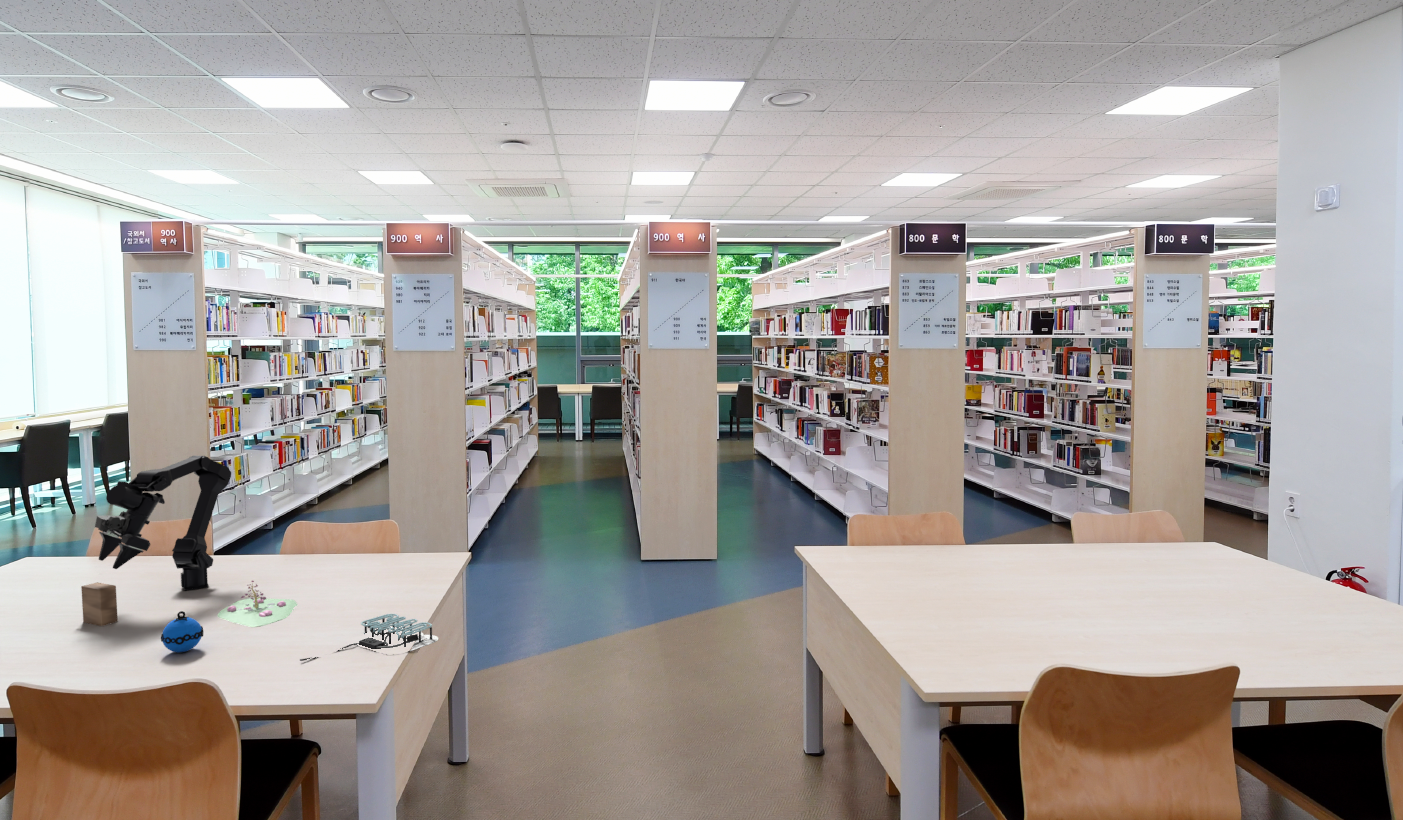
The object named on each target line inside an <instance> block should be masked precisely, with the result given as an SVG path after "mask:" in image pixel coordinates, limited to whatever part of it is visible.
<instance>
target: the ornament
mask: <svg viewBox="0 0 1403 820" xmlns="http://www.w3.org/2000/svg"><path fill="white" fill-rule="evenodd" d="M181 614H182V615H181ZM203 628H204V626H203V625H201V624H200V623H199V621H198V620H196V619H195V618H193V617H189V616H186V612H185V611H182V610H181V611H179V612H177V615H176V618H174V619H173V620H171V621H169V622H168V623H167V624H166V626H165V627H164V629H163V630H162V633H160V634H161V635H160V641H161V642H162V644H163V645H164V647H165V648H166V649H168V650H169V651H171V652H173V653H179V654H181V653H186V652H188V651H191V650H192V649H194V648H195V647H196V646H197V645H199V643H200V641H201V640H202V637H204V629H203Z"/></svg>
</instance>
